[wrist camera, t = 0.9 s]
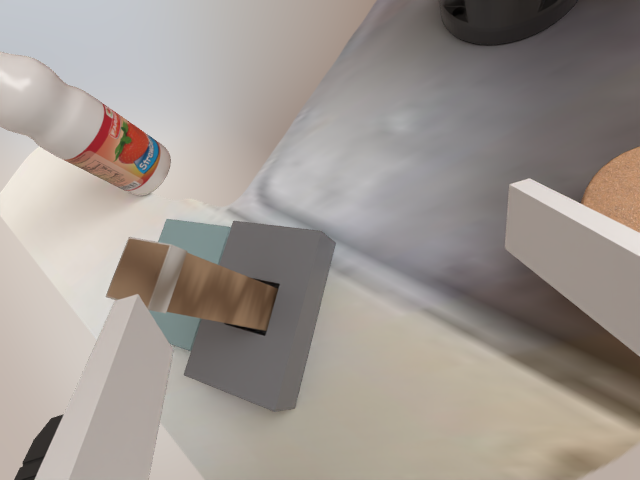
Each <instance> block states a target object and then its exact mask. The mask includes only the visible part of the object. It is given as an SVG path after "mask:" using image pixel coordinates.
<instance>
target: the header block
mask: <svg viewBox="0 0 640 480" xmlns="http://www.w3.org/2000/svg"><path fill="white" fill-rule="evenodd" d="M335 244H336V243H335V242H334V241H333V240H332V239H330V238H329V237H328V236H327V235H326V234H325V233H323V232H322V231H316V230H308V229H299V228H291V227H282V226H274V225H265V224H257V223H248V222H240V221H233V224H232V227H231V230H230V233H229V236H228V239H227V242H226V245H225V248H224V251H223V255H222V258H221V261H220V264H219V265H220V266H222V267H225V268H227V269H230V270H232V271H235V272H237V273H240V274H242V275H245V276H247V277H250V278H252V279H255V280H257V281H260V282H262V283H265V284H267V285H270V286H272V287H275V288H277V289H278V292H277V296H276V299H275V303H274V307H273V310H272V314H271V317H270V321H269V325H268V328H267V331H264V330H259V329H254V328H249V327H243V326H238V325H233V324H228V323H222V322H217V321H212V320H207V319H202V320H201V323H200V326H199V329H198V332H197V335H196V338H195V341H194V344H193V348H192V351H191V354H190V357H189V360H188V363H187V366H186V369H185V372H184V375H185V376H188V377H190V378H192V379H195V380H197V381H200V382H202V383H205V384H207V385H210V386H212V387H215V388H217V389H220V390H222V391H225V392H227V393H230V394H232V395H235V396H237V397H240V398H242V399H244V400H247V401H249V402H252V403H254V404H257V405H259V406H262V407H264V408H267V409H269V410H272V411H274V412H276V411H282V410H288V409H293V408H295V405H296V401H297V397H298V393H299V389H300V385H301V381H302V377H303V373H304V369H305V365H306V361H307V357H308V353H309V349H310V345H311V341H312V337H313V333H314V329H315V325H316V321H317V317H318V312H319V308H320V304H321V300H322V296H323V292H324V288H325V284H326V280H327V276H328V272H329V268H330V264H331V260H332V256H333V252H334V248H335Z"/></svg>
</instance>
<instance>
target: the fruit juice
mask: <svg viewBox="0 0 640 480" xmlns="http://www.w3.org/2000/svg"><path fill="white" fill-rule="evenodd" d="M0 127H2V128H4V129H6V130H9V131H12V132H15V133H19V134H22V135H26V136H28V137H30V138H32V139H33V140H34V141H35V142H36V143H37V144H38V145H39V146H40V147H42V148H43V149H45V150H46V151H48V152H50V153H51V154H53V155H55V156H57V157H59V158H61V159H63V160H65V161H67V162H69V163H71V164H73V165H75V166H77V167H79V168H81V169H83V170H85V171H87V172H89V173H91V174H93V175H95V176H97V177H99V178H101V179H103V180H105V181H107V182H109V183H111V184H113V185H115V186H117V187H119V188H121V189H123V190H125V191H127V192H129V193H131V194H134V195H139V196H142V195H147V194H149V193H151V192H153V191H154V190H156V189H157V188H158V187H159V186H160V185H161V183H162V182H163V181H164V179H165V178H166V176H167V174H168V171H169V168H170V162H171V159H170V155H169V152H168V151H167V149H166V148H165V147H164V146H163V145H162V144H160V143H159V142H157V141H156V140H154V139H153V138H152V137H150V136H149V135H147V134H146V133H144V132H143V131H142V130H140V129H139V128H137V127H136V126H134V125H133V124H131V123H130V122H129V121H127V120H126V119H124V118H123V117H122V116H120V115H119V114H117V113H116V112H114V111H113V110H111V109H110V108H109V107H107V106H106V105H104V104H103V103H102V102H100V101H99V100H97V99H96V98H94V97H93V96H91V95H90V94H88V93H86V92H85V91H83V90H81V89H79V88H76V87H73V86H70V85H67V84H66V83H64V82H63V81H62V80H61V79H60V78H59V77H58V76H57V75H56V73H54V71H52V70H51V69H50V68H49V67H47V66H46V65H45V64H43V63H41V62H40V61H38V60H36V59H34V58H31V57H27V56H21V55H13V54H8V53H4V52H0Z"/></svg>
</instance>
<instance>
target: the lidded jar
mask: <svg viewBox="0 0 640 480" xmlns="http://www.w3.org/2000/svg"><path fill="white" fill-rule="evenodd" d="M581 204H582V205H584V206H586V207H588V208H590V209H592V210H594V211H596V212H598V213H601V214H603V215H605V216H607V217H609V218H611V219H613V220H615V221H617V222H619V223H621V224H623V225H625V226H627V227H629V228H631V229H633V230H635V231H637V232H639V233H640V147H637V148H634V149H632V150H629V151H627V152H625V153H622V154H621V155H619V156H617V157H616V158H614V159H612V160H611V161H610V162H608V163H607V164H606V165H605V166H603V167H602V168H601V169H600V170H599V171H598V172H597V173H596V175H595V176H594V177H593V178H592V180H591V181H590V183H589V185H588V186H587V188H586V190H585V193H584V195H583V198H582V200H581Z"/></svg>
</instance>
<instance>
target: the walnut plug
mask: <svg viewBox="0 0 640 480" xmlns="http://www.w3.org/2000/svg"><path fill="white" fill-rule="evenodd" d="M277 292H278V289H277V288H275V287H272V286H270V285H267V284H265V283H262V282H260V281H257V280H255V279H252V278H250V277H247V276H245V275H242V274H240V273H237V272H235V271H232V270H230V269H227V268H225V267H222V266H220V265H217V264H215V263H212V262H210V261H207V260H205V259H202V258H200V257H197V256H195V255H192V254H190V253H187V251H186V250H184V249H181V248H179V247H176V246H174V245H172V244H166V243H160V242H155V241H149V240H143V239H137V238H132V237H129V238H128V240H127V243H126V246H125V248H124V251H123V253H122V256H121V258H120V261H119V264H118V266H117V269H116V271H115V274H114V276H113V279H112V281H111V284H110V287H109V289H108V292H107V294H106V297H107V298H111V299H114V300H119V299H123V298H126V297H130V296H133V295H136V294H138V295H139V296H140V298H141V299H142V301H143V303H144V304H145V306H146V307H147V309H148V310H151V311H156V312H161V313H166V312H170V313H175V314H180V315H186V316H191V317H196V318H201V319H207V320H212V321H217V322H222V323H228V324H233V325H238V326H243V327H249V328H254V329H259V330H264V331H267V328H268V325H269V321H270V317H271V314H272V310H273V307H274V303H275V299H276V296H277Z"/></svg>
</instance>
